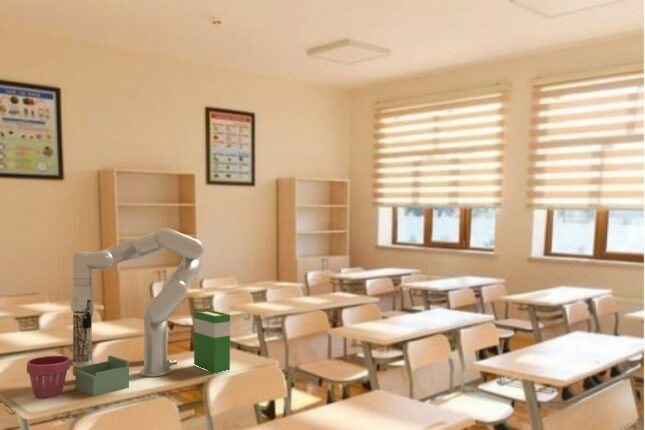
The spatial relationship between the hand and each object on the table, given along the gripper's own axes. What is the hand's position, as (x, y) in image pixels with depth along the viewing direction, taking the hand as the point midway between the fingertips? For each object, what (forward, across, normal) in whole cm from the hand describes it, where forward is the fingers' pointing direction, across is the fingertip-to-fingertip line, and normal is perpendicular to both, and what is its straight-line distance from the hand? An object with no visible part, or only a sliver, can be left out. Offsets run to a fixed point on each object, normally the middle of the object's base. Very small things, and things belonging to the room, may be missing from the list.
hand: (82, 326), depth 216 cm
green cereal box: (+22, +25, +45) cm, 56 cm away
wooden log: (+19, 0, 0) cm, 19 cm away
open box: (+22, +16, 0) cm, 27 cm away
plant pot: (+22, +9, -17) cm, 29 cm away
